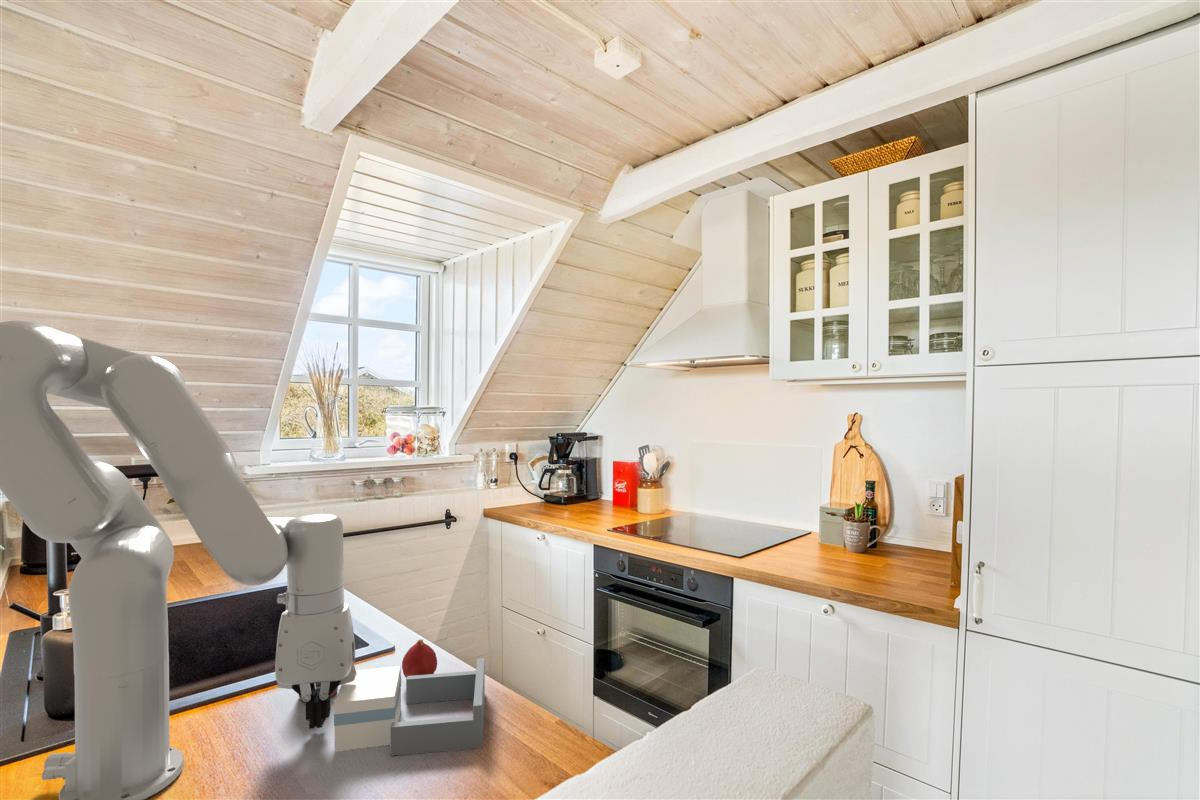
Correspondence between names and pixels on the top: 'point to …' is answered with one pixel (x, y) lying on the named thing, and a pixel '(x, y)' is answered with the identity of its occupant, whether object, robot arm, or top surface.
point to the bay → (444, 730)
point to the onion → (419, 660)
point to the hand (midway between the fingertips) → (318, 723)
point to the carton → (367, 708)
